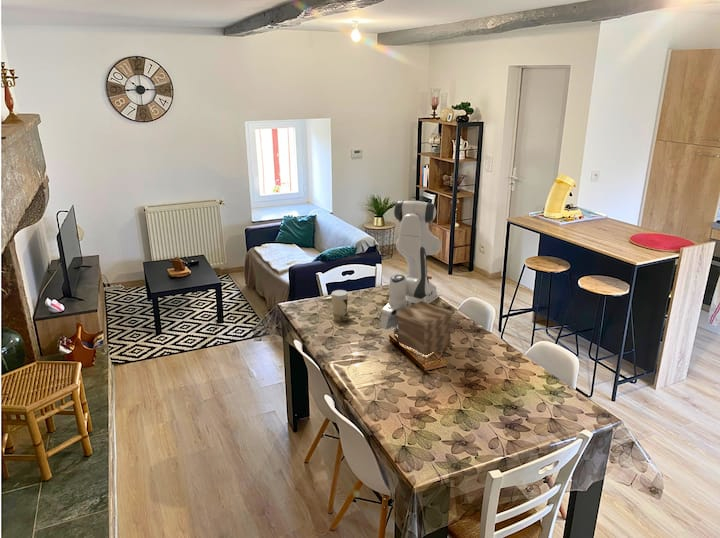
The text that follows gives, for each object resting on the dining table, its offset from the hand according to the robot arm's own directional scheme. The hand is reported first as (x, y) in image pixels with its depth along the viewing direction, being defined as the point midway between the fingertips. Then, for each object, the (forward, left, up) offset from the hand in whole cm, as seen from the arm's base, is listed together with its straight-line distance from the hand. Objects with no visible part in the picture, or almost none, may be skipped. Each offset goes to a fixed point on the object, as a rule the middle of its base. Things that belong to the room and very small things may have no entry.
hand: (397, 331), depth 282 cm
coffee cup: (+3, -41, -2) cm, 41 cm away
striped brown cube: (0, +18, -2) cm, 18 cm away
